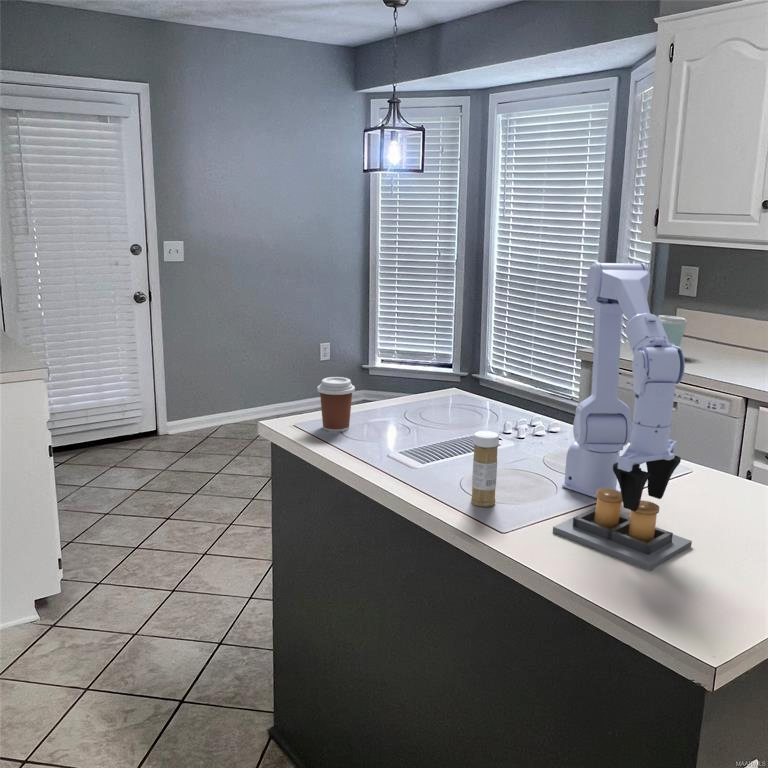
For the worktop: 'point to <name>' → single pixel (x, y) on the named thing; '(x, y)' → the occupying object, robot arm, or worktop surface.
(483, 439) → the sprinkles bottle
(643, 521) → the jaw peg
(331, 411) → the coffee cup
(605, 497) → the jaw peg
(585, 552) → the worktop surface
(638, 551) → the housing
